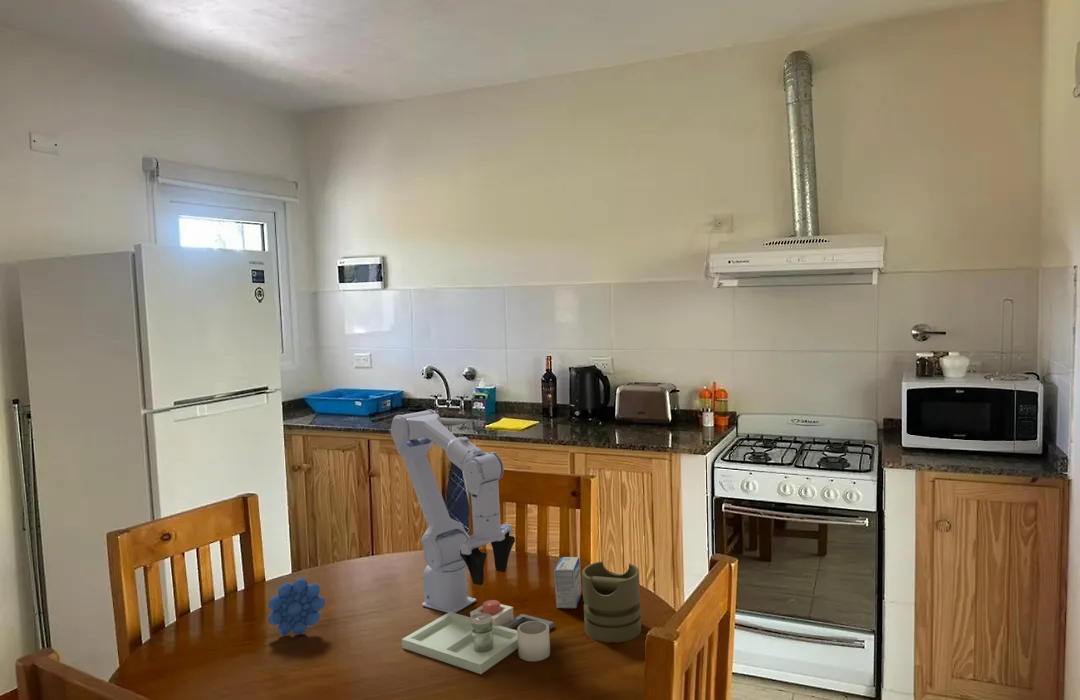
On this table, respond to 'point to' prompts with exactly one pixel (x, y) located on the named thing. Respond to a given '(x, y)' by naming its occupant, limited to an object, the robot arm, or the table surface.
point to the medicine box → (567, 582)
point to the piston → (611, 603)
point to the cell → (482, 632)
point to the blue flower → (296, 607)
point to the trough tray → (460, 643)
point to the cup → (533, 641)
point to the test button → (491, 607)
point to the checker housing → (498, 615)
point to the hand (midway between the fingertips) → (489, 577)
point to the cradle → (526, 619)
